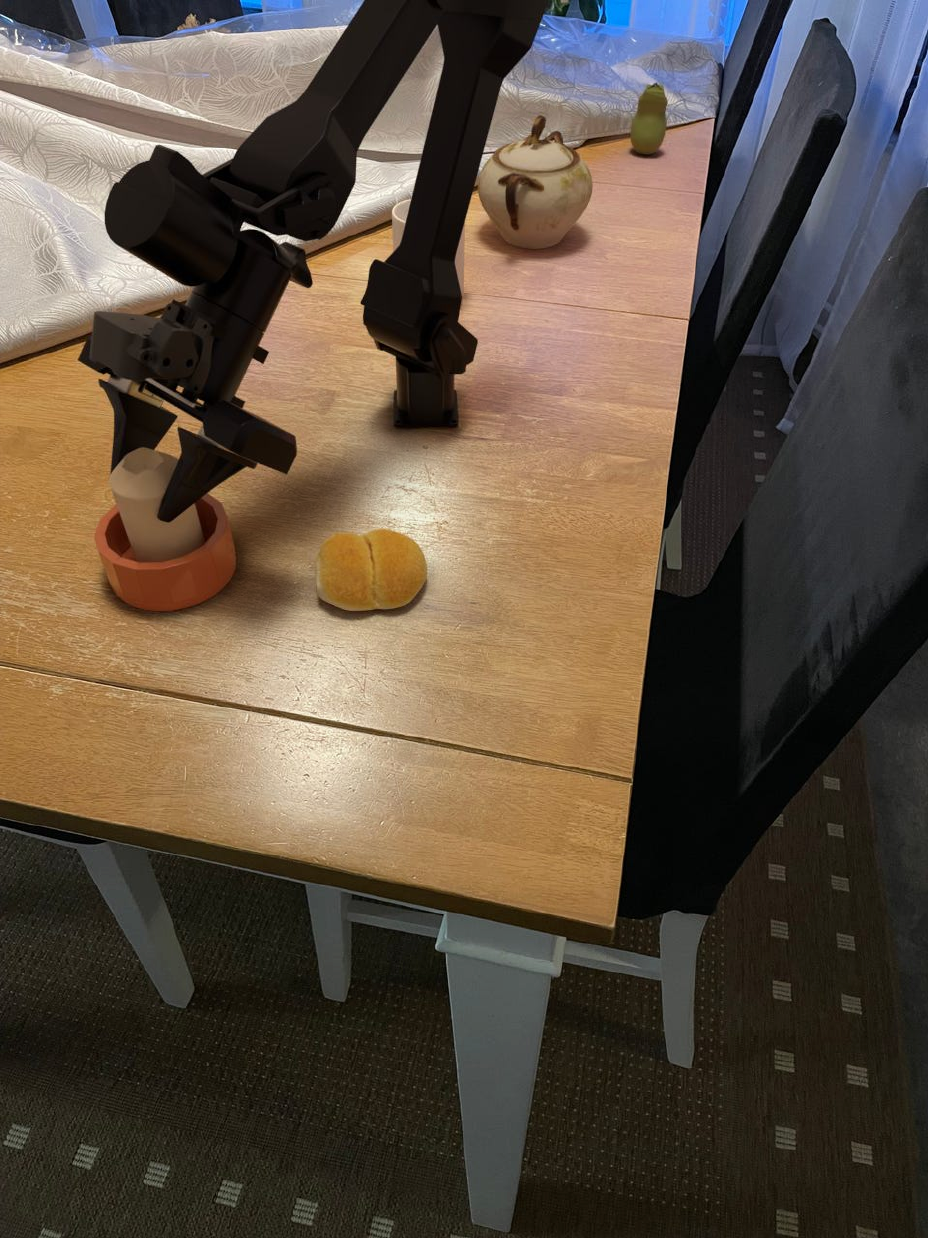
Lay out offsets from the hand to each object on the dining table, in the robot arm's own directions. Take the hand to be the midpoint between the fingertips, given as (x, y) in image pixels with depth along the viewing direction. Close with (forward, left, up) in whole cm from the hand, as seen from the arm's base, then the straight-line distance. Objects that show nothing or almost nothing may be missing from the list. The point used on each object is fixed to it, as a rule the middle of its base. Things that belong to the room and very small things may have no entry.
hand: (138, 504), depth 66 cm
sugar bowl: (+67, -37, -8) cm, 77 cm away
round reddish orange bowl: (+1, -1, -7) cm, 8 cm away
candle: (+1, -1, -7) cm, 7 cm away
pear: (+100, -59, -8) cm, 116 cm away
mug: (+47, -22, -8) cm, 52 cm away
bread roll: (-1, -17, -8) cm, 19 cm away
